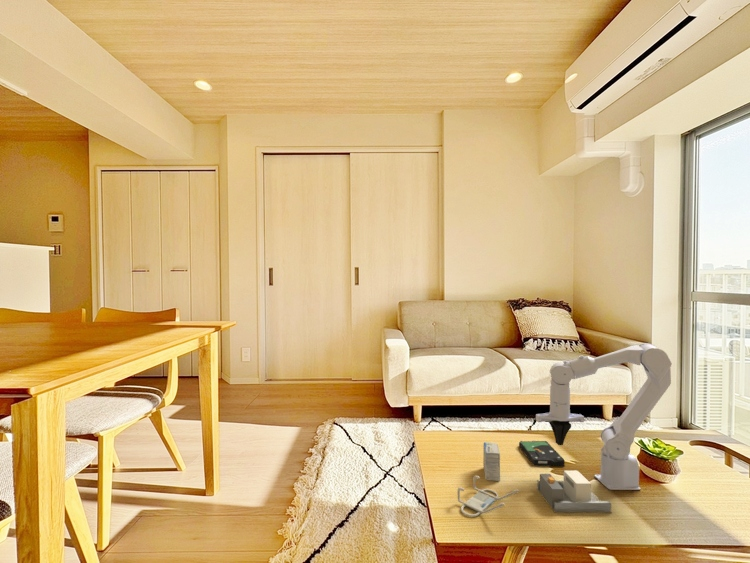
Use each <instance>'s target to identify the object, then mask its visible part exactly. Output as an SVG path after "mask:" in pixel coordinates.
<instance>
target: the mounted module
mask: <svg viewBox="0 0 750 563" xmlns="http://www.w3.org/2000/svg"><path fill="white" fill-rule="evenodd" d="M539 481H540V492H541V493H542V495H543V496H544V497H545V499H546V500H547V501H548V503H549V504H550V505H551V506H552V507H554V501H563V497H564V489H563V488H562V487H561V486H560V485H559V483H558V482H557V481H558V480H556V479H555V477H554V476H552V475H551V474H550V473H539ZM540 492H539V493H540ZM542 495H541V496H542ZM543 496H542V497H543ZM544 497H543V498H544ZM545 499H544V500H545ZM546 500H545V501H546ZM547 501H546V502H547ZM548 503H547V504H548ZM549 504H548V505H549ZM550 505H549V506H550Z"/></svg>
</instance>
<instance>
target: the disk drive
mask: <svg viewBox="0 0 750 563" xmlns="http://www.w3.org/2000/svg"><path fill="white" fill-rule="evenodd" d="M518 447H519V448H520V450H521V451H522V453H524V455H525V457H527V459H528V460H529V461H530V463H531V464H532V465H533V466H534V467H565V466H566V465H565V459H564V458H563V456H561V455H560V454H559V452H557V451H556V450H555V448H554V447H553V446H552V445H551V444H550V443H549V442H548V441H546V440H530V441H529V440H526V441H525V440H524V441H523V440H520V441H519V442H518Z"/></svg>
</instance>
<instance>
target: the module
mask: <svg viewBox="0 0 750 563" xmlns="http://www.w3.org/2000/svg"><path fill="white" fill-rule="evenodd" d="M563 481H564V484H563V489H564V492H565V493H566V494H567V496H568V497H569V498H570V499H571V500H572V501H591V492H592V488H591V487H592V483H591V482H590V481H589V480H588V479H587V478H586V477H585V476H584V475H583V474H582V473H581V472H580V471H579V470H563Z"/></svg>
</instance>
